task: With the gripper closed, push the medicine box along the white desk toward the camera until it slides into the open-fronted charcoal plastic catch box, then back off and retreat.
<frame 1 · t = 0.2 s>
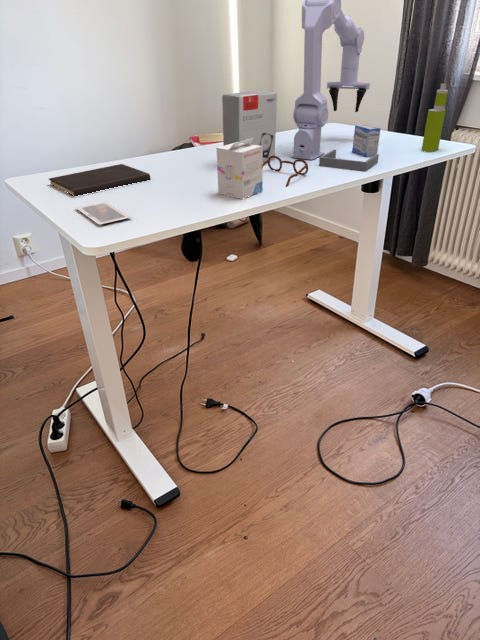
hand: (345, 111, 173), 10 cm above the table, fingers open, 7 cm apart
medicine box: (364, 154, 160), on the table
hardcover book: (101, 185, 138), on the table
catch box: (350, 162, 150), on the table
ink box: (240, 193, 127), on the table
vape: (429, 150, 163), on the table
touchpad: (103, 217, 114), on the table
glasses: (277, 180, 138), on the table
hard drive box: (249, 162, 154), on the table
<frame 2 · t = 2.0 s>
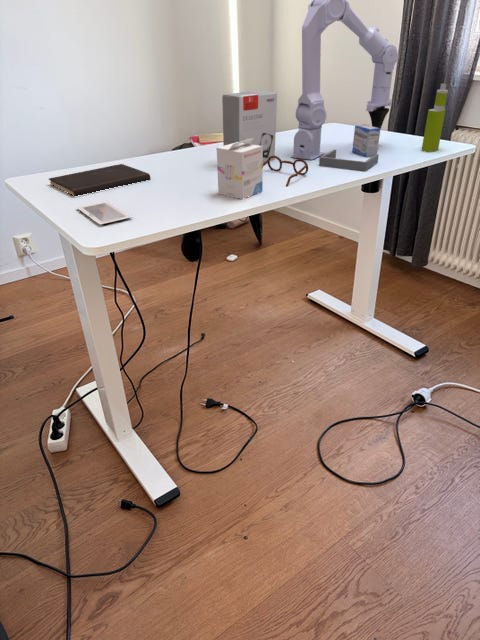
hand: (376, 131, 164), 5 cm above the table, fingers closed
nothing on the table moved.
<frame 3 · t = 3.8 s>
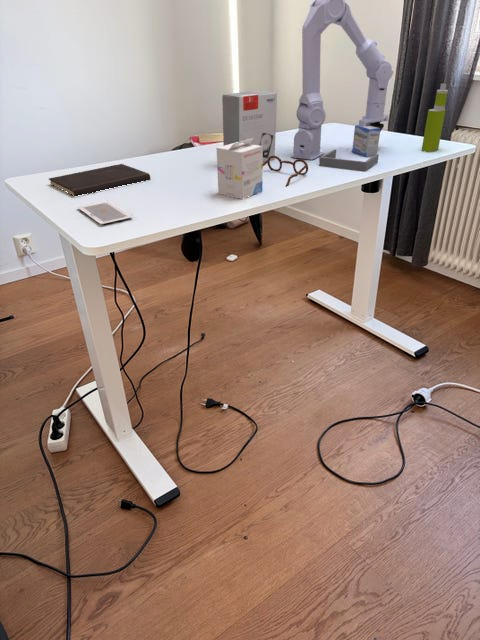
hand: (370, 146, 164), 1 cm above the table, fingers closed
medicine box: (364, 154, 160), on the table, touching gripper
everything else where it was.
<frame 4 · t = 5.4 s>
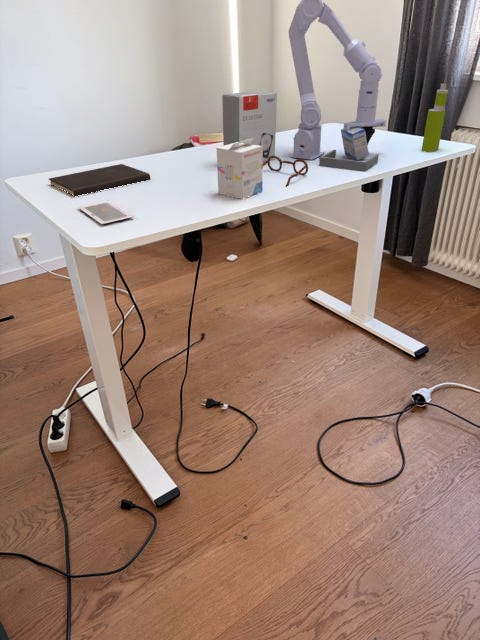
hand: (362, 152, 157), 1 cm above the table, fingers closed
medicine box: (357, 156, 156), point 1 cm above the table, touching gripper
everything else where it was.
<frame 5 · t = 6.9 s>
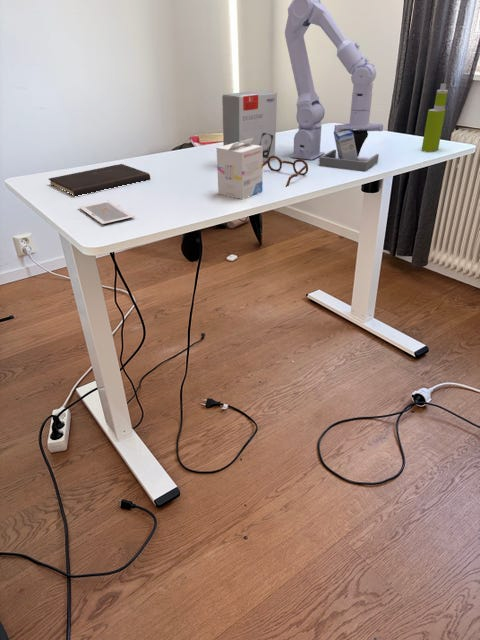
hand: (355, 155, 153), 1 cm above the table, fingers closed
medicine box: (348, 159, 152), resting in catch box, touching gripper
everything else where it was.
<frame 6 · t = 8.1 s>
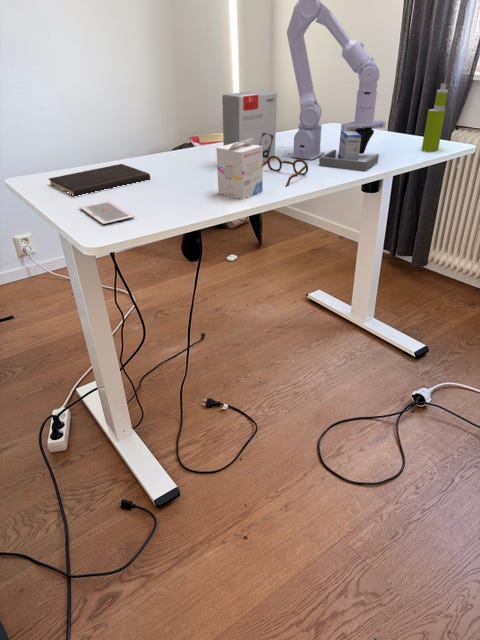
hand: (360, 153, 156), 1 cm above the table, fingers closed
medicine box: (347, 161, 153), resting in catch box
everything else where it was.
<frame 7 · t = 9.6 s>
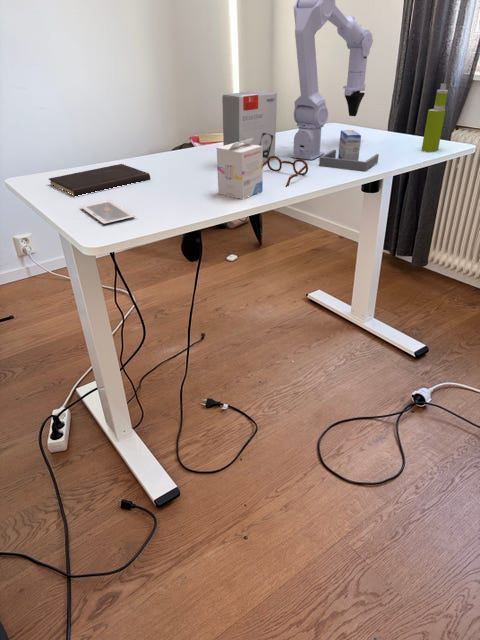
hand: (352, 115, 168), 9 cm above the table, fingers closed
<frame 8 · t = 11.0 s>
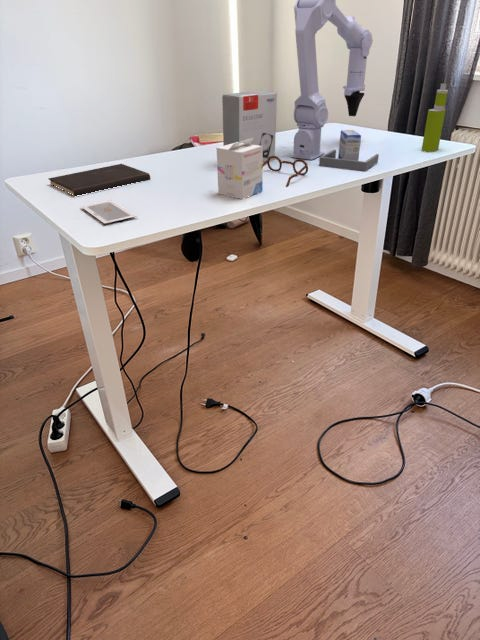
hand: (352, 115, 168), 9 cm above the table, fingers closed
at the end: medicine box inside the target area on the catch box (3.9 cm from its centre), point 0.0 cm above the catch box's base; medicine box moved 11.3 cm from its start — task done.
